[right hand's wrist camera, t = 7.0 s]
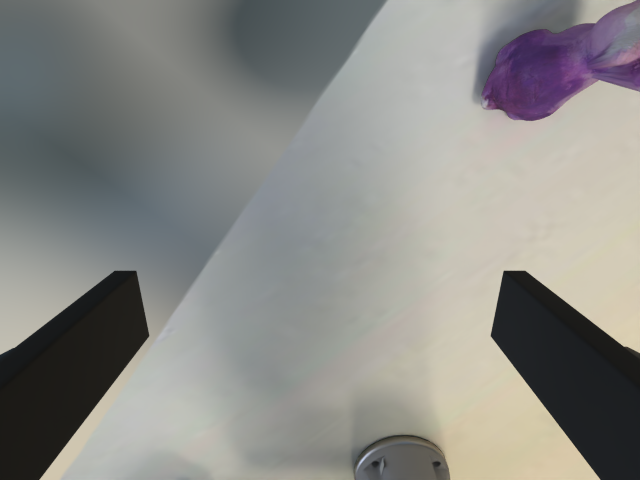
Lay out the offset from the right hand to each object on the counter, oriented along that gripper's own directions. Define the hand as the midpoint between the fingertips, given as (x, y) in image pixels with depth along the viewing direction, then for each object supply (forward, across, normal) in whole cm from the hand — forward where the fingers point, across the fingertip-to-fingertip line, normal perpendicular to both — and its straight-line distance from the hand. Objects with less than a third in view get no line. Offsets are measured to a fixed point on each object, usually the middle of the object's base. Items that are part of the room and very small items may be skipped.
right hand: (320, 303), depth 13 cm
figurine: (+30, -22, -11) cm, 39 cm away
